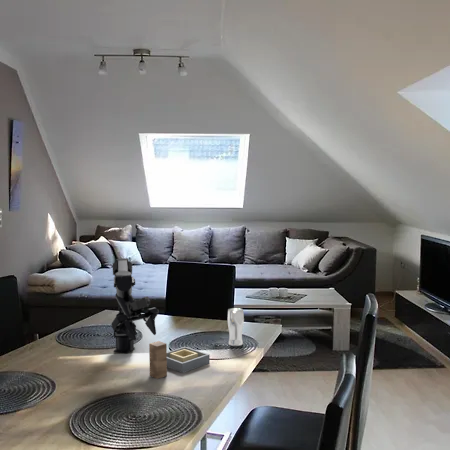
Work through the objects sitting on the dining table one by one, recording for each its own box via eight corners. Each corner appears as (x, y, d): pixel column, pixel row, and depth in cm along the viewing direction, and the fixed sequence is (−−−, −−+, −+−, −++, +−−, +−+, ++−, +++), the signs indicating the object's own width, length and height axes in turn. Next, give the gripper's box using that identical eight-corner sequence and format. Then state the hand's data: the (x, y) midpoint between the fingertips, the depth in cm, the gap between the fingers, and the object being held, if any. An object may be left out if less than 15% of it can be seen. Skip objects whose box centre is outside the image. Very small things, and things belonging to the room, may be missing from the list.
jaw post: (149, 375, 198) (149, 343, 197) (159, 372, 202) (158, 341, 200) (157, 379, 195) (156, 346, 194) (166, 375, 198) (166, 343, 197)
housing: (158, 363, 211) (158, 353, 211) (185, 354, 221) (185, 345, 221) (182, 372, 201) (182, 362, 201) (209, 363, 211) (209, 353, 211)
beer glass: (242, 347, 231) (242, 312, 230) (226, 345, 232) (226, 311, 231) (244, 342, 238) (245, 308, 236) (229, 341, 239) (229, 307, 238)
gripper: (115, 294, 198) (134, 330, 191) (155, 286, 211) (174, 320, 204) (103, 312, 204) (121, 347, 197) (143, 303, 217) (161, 336, 210)
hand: (145, 337), depth 202 cm, fingers open, 9 cm apart
